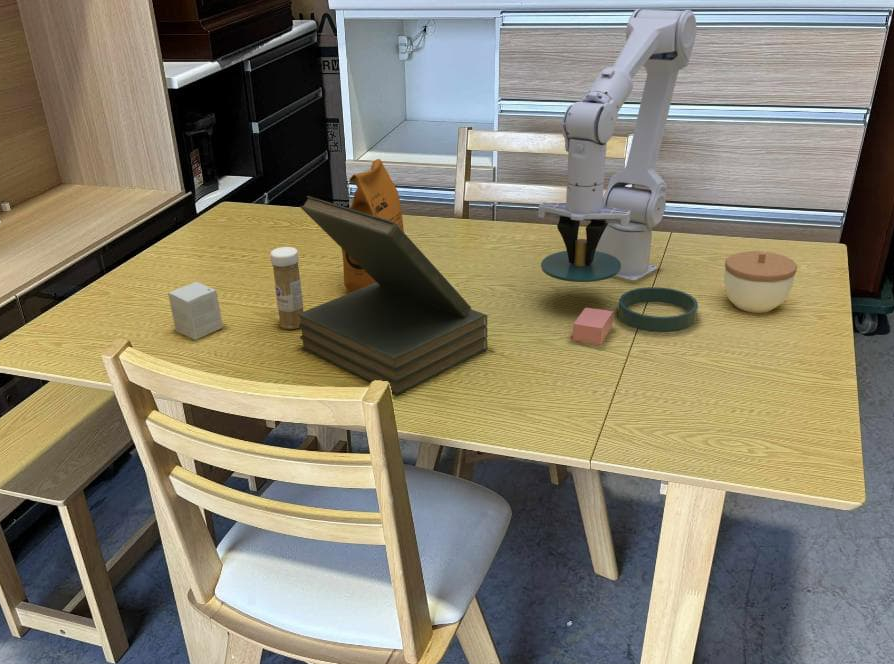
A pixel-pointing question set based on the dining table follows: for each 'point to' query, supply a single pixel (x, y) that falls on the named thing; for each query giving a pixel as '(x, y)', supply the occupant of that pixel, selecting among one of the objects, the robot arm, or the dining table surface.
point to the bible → (389, 307)
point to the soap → (592, 325)
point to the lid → (580, 265)
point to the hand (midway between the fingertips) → (580, 262)
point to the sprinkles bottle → (287, 286)
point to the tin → (651, 321)
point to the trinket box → (758, 280)
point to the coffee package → (376, 200)
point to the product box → (195, 310)
